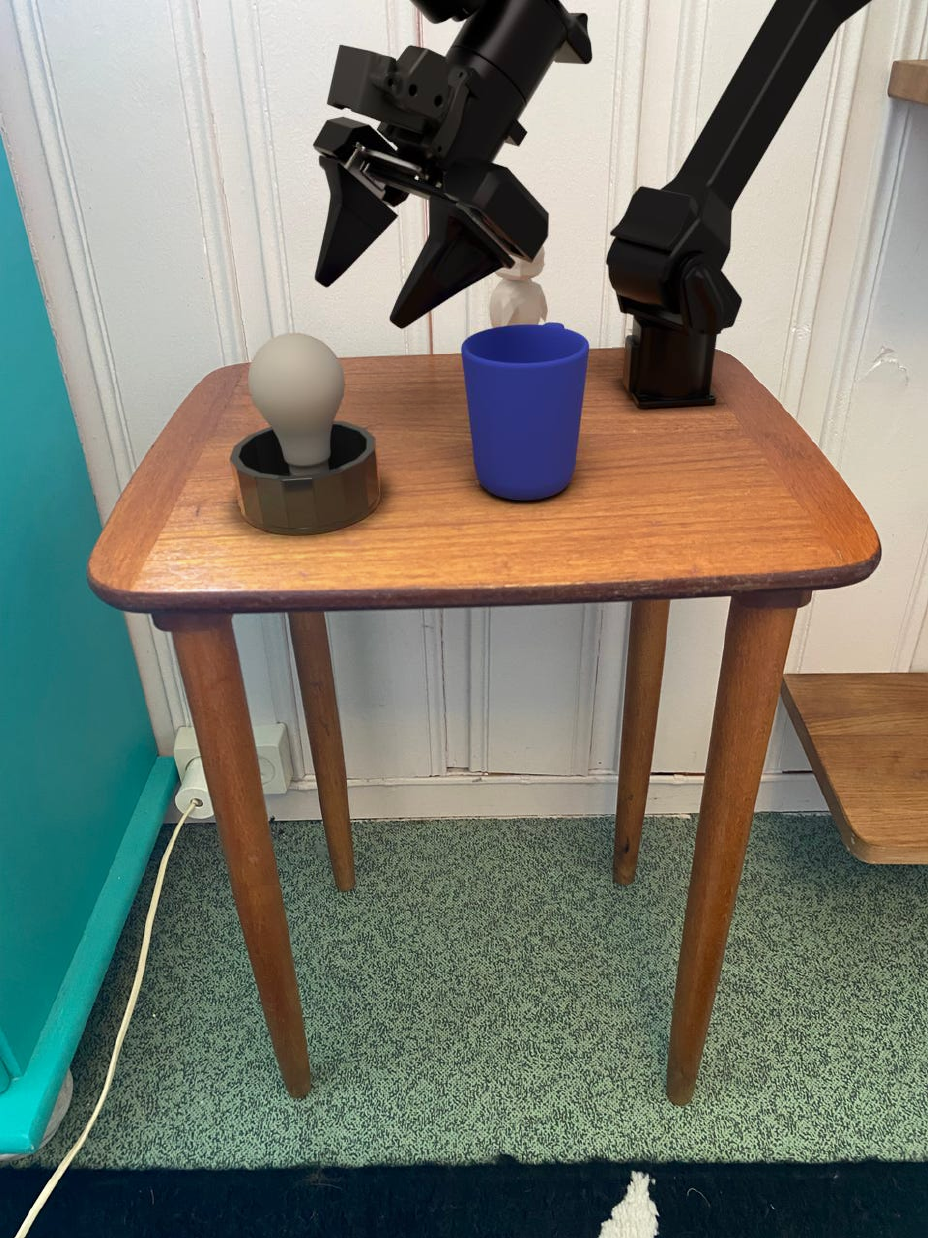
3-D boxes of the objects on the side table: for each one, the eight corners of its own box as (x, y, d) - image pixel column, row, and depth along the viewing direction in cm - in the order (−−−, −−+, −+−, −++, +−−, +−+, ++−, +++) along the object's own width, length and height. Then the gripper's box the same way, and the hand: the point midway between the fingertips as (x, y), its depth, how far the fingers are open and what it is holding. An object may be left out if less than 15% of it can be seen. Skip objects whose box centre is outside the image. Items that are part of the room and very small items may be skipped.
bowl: (381, 467, 67) (376, 415, 65) (379, 530, 59) (373, 474, 57) (250, 475, 67) (241, 423, 65) (231, 539, 59) (220, 483, 57)
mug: (605, 445, 69) (613, 311, 63) (567, 518, 60) (572, 369, 54) (502, 434, 71) (500, 304, 66) (450, 503, 62) (442, 358, 56)
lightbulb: (319, 467, 67) (298, 314, 60) (375, 491, 63) (359, 331, 57) (250, 496, 63) (220, 338, 57) (305, 523, 59) (280, 357, 53)
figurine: (514, 383, 80) (513, 239, 74) (470, 375, 83) (466, 234, 76) (559, 357, 86) (562, 220, 79) (517, 349, 88) (516, 216, 81)
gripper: (318, -31, 56) (193, 197, 58) (508, -9, 44) (343, 276, 47) (431, 93, 65) (318, 288, 67) (615, 139, 53) (471, 373, 55)
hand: (356, 303), depth 59 cm, fingers open, 9 cm apart
